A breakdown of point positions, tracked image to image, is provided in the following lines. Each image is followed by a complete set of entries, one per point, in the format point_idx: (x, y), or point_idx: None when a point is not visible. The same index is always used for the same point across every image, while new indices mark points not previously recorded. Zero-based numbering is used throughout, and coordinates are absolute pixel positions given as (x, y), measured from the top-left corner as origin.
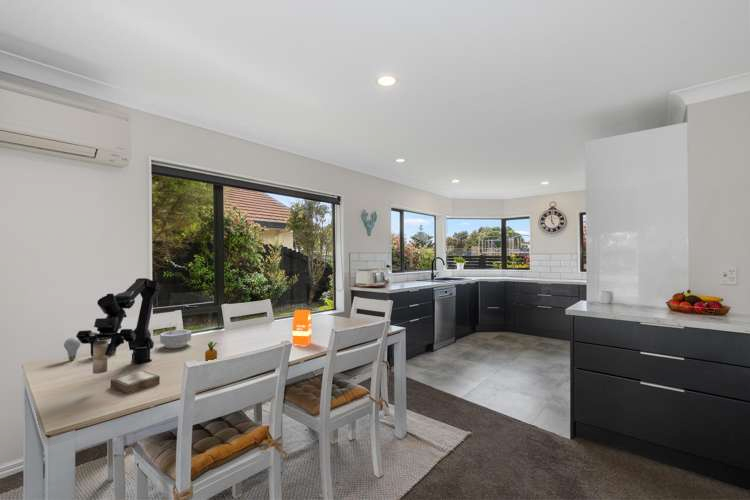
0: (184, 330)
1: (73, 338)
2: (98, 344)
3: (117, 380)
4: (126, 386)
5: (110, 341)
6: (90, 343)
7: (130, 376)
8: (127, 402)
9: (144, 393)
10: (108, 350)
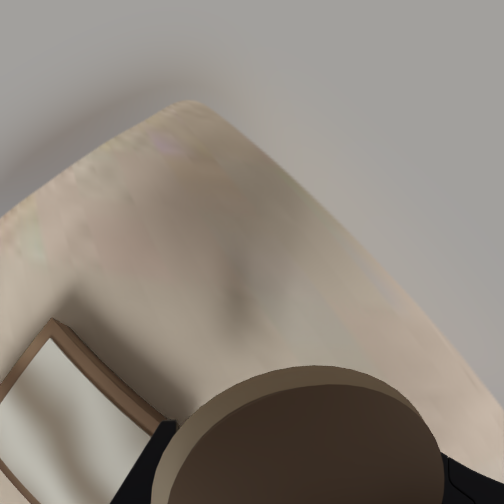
0: None
1: None
2: (280, 387)
3: (138, 425)
4: (54, 320)
5: None
6: (496, 482)
7: (95, 472)
8: (43, 235)
9: (8, 318)
10: (139, 456)
